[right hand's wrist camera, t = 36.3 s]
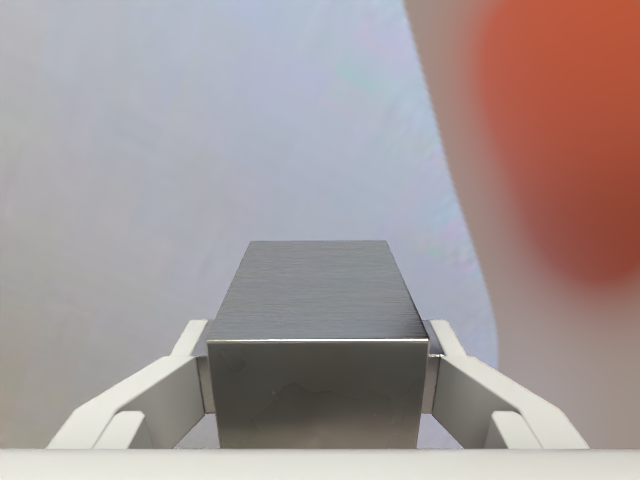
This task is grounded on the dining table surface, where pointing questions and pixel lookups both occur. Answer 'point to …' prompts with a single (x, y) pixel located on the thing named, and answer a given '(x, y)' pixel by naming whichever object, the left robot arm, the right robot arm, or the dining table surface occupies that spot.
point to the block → (318, 350)
